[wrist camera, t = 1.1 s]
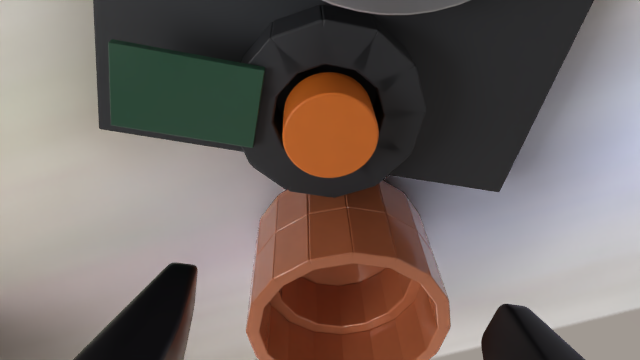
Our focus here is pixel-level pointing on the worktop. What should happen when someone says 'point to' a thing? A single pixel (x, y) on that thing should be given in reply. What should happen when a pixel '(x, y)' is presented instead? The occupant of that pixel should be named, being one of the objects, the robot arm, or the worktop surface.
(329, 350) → the bowl
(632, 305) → the worktop surface
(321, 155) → the button
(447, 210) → the worktop surface
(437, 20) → the scale
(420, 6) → the scale pan
